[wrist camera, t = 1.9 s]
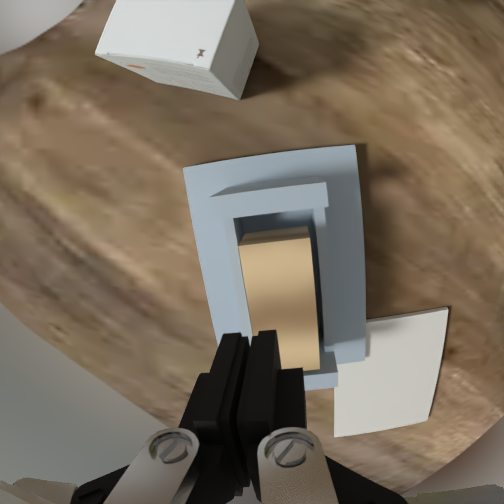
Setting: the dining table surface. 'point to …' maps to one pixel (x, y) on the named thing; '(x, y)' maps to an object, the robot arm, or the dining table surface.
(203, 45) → the small box
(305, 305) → the oak block
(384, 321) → the mat
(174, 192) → the dining table surface
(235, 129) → the dining table surface
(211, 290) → the jig
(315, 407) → the dining table surface
